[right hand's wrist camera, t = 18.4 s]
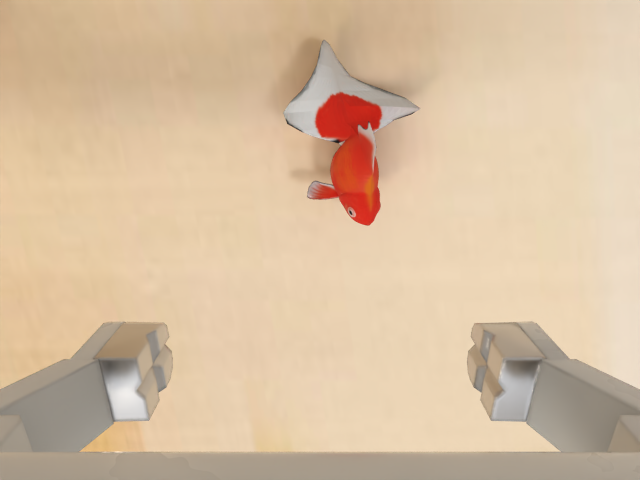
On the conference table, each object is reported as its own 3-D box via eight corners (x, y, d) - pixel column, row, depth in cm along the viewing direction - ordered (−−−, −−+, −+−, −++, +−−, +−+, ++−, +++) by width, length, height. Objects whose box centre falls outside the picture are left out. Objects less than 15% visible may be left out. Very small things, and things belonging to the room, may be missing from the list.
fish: (265, 224, 37) (299, 210, 28) (272, 63, 38) (307, -2, 29) (367, 231, 41) (427, 221, 32) (371, 85, 42) (429, 34, 33)
